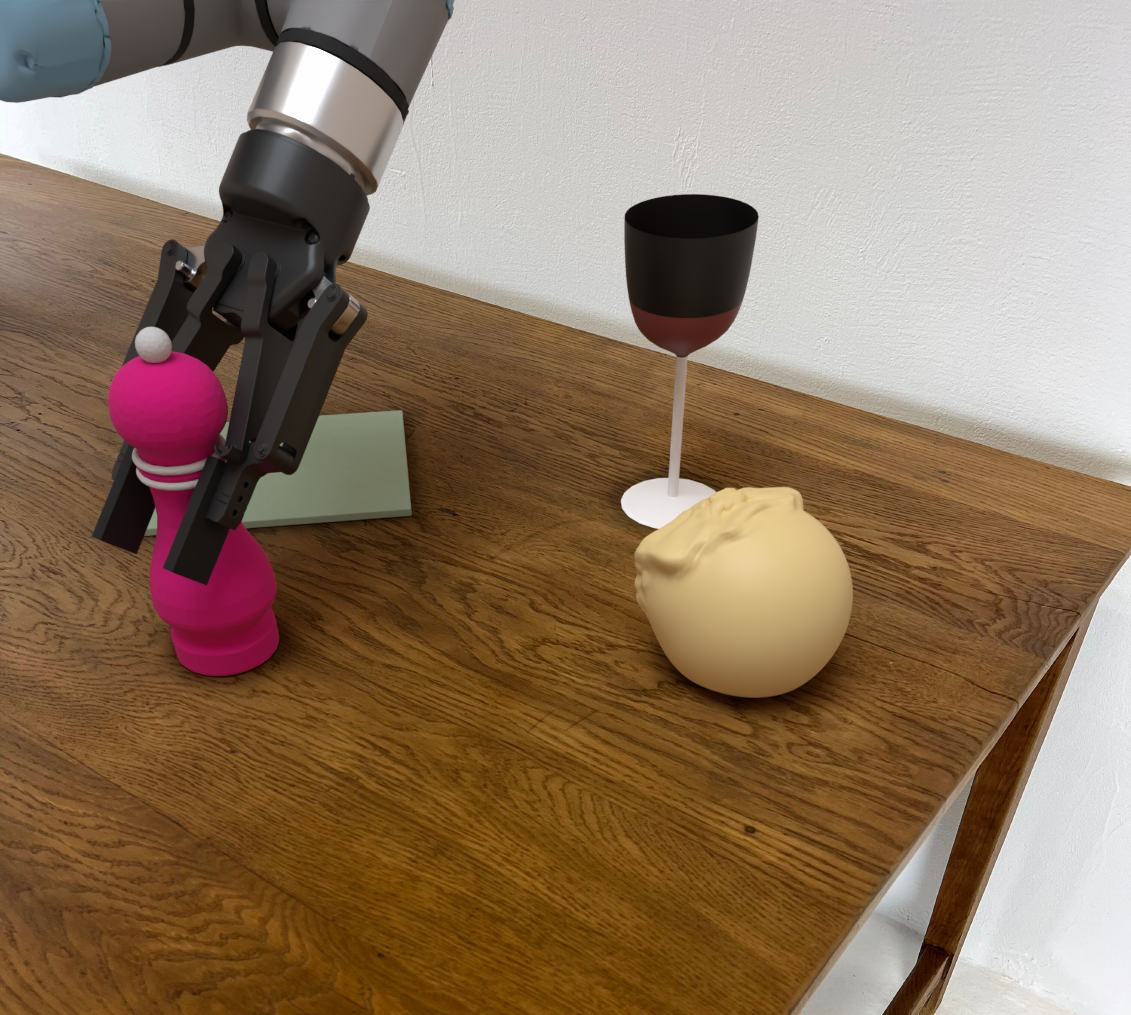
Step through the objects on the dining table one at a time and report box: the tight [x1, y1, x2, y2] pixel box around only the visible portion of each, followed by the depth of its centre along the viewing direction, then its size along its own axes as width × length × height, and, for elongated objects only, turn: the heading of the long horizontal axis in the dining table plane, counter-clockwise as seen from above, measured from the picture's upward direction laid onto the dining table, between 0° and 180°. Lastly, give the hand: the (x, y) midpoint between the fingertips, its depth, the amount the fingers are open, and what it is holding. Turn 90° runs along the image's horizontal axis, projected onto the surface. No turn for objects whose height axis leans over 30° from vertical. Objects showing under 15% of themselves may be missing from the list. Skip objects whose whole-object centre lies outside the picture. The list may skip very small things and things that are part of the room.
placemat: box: [144, 409, 413, 537], centre depth 87 cm, size 20×16×1 cm
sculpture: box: [633, 486, 854, 699], centre depth 66 cm, size 11×12×11 cm
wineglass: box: [620, 193, 760, 530], centre depth 77 cm, size 8×9×20 cm
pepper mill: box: [107, 327, 280, 677], centre depth 64 cm, size 7×7×20 cm
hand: (149, 560), depth 63 cm, fingers closed on pepper mill, 5 cm apart
